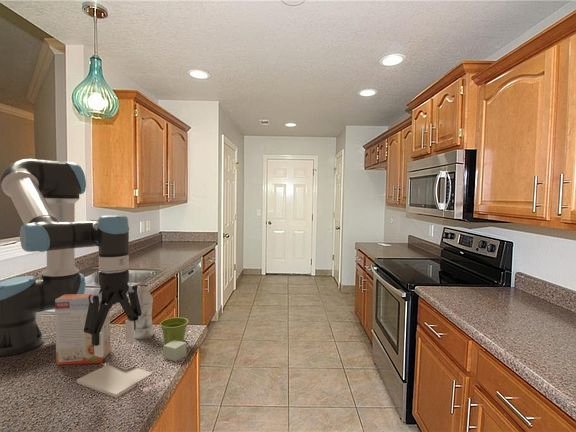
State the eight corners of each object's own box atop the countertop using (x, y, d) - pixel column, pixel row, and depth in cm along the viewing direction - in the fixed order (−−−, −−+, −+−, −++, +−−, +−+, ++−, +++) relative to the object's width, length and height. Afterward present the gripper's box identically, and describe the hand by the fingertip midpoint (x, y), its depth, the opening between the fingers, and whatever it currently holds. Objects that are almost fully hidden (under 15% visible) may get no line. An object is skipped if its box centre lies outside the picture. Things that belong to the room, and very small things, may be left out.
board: (76, 383, 93) (76, 379, 93) (115, 364, 104) (115, 361, 104) (116, 398, 87) (116, 394, 87) (152, 376, 97) (152, 372, 97)
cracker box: (111, 355, 110) (110, 292, 109) (103, 364, 104) (102, 297, 103) (66, 356, 109) (65, 293, 108) (55, 365, 103) (54, 298, 102)
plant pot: (193, 346, 118) (193, 322, 117) (168, 355, 111) (168, 329, 110) (179, 338, 124) (179, 315, 124) (155, 346, 117) (155, 322, 117)
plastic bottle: (157, 338, 124) (157, 285, 123) (140, 345, 118) (140, 289, 117) (146, 334, 127) (146, 282, 126) (130, 340, 122) (129, 286, 121)
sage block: (163, 360, 107) (163, 345, 107) (174, 354, 112) (174, 339, 111) (175, 364, 105) (175, 348, 105) (186, 357, 109) (186, 342, 109)
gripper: (84, 279, 82) (86, 369, 83) (154, 264, 102) (155, 337, 103) (66, 276, 86) (67, 362, 87) (137, 262, 105) (137, 332, 106)
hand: (115, 348), depth 95 cm, fingers open, 9 cm apart
